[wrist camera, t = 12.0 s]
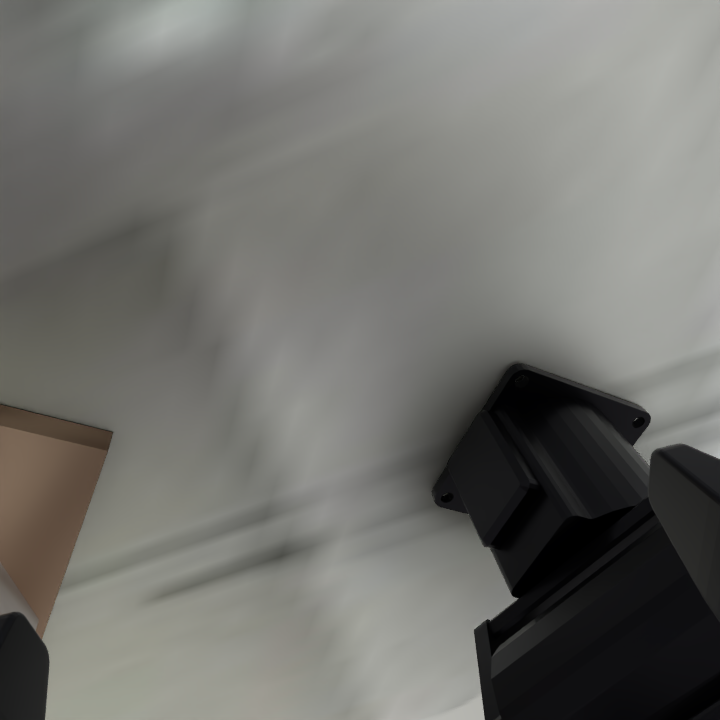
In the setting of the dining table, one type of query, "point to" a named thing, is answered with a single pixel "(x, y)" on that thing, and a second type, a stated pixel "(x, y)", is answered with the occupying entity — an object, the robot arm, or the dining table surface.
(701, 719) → the robot arm
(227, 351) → the dining table surface
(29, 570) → the socket board
